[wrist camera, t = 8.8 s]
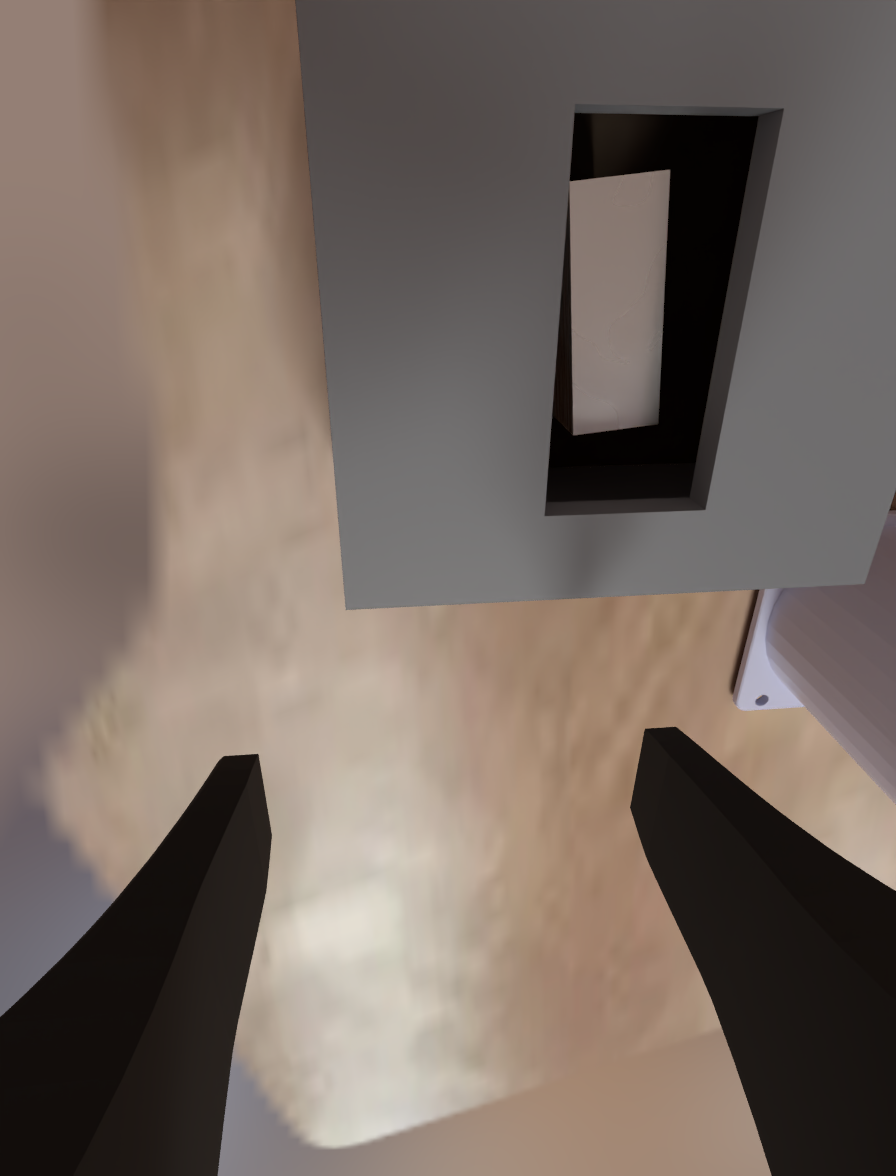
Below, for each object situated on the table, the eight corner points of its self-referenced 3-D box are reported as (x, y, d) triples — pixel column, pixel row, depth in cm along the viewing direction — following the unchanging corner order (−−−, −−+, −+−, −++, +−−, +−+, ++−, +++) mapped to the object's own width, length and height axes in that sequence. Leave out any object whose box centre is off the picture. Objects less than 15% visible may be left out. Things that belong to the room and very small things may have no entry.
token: (594, 187, 17) (670, 169, 13) (594, 382, 20) (658, 423, 15) (518, 196, 17) (569, 181, 13) (528, 391, 20) (573, 435, 15)
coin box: (810, 62, 16) (1074, -45, 10) (723, 485, 22) (864, 584, 15) (321, 49, 15) (288, -79, 9) (353, 498, 20) (345, 609, 14)
